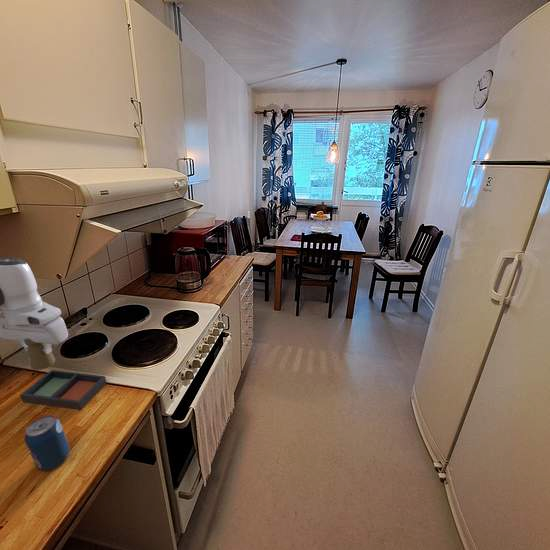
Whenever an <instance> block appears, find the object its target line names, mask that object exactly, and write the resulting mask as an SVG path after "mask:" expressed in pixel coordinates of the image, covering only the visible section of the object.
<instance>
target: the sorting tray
mask: <svg viewBox="0 0 550 550" xmlns="http://www.w3.org/2000/svg"><path fill="white" fill-rule="evenodd" d="M107 384H108V381H107V377H106V376H105V375H101V374H100V375H99V374H89V373H82V372H74V371H66V370H57V369H51V370H50V371H48V372H47V373H46V374H44V375H43V376H42V377H41V378H39V379H38V380H37V381H36V382H34V383H33V384H31V386H29V387H28V388H27V389H25V390H24V391H23V392H22V393H21V394H20V395H19V396H20V398H21V401H22V403H26V404H32V405H39V406H47V407H55V408H62V409H69V410H77V411H82V410H83V409H84V408H85V407H86V406H87V405H88V404H89V403H90V401H91V400H93V398H95V396H96V395H97V394H98V393H99V392H100V391H101V390H102V389H103V388H104V387H105V386H106V385H107Z"/></svg>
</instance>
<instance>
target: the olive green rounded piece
mask: <svg viewBox="0 0 550 550" xmlns="http://www.w3.org/2000/svg"><path fill="white" fill-rule="evenodd" d="M24 342H25V344H26V345H27V346H28V347H29V352H28V353H29V361H30V368H31V369H32V370H33V371H40V370H44V369H48V368H49V367H51V366H53V365H54V363H55V362H56V358H55V356H54V354H53V351H51V352H50V353H49V354H43V353H42V350H41V349H43V348H44V345H42V343H36V342H33V341H32V340H31V339H24Z"/></svg>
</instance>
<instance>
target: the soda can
mask: <svg viewBox="0 0 550 550" xmlns="http://www.w3.org/2000/svg"><path fill="white" fill-rule="evenodd" d="M24 432H25V434H24V438H23V439H24V442H25V444H26V446H27V449H28V451H29V454H30V456H31V458H32V461H33V463H34V465H35V467H36V469H38V470H39V471H44V472H48V471H52V470H55V469H58V468H59V467H60V466H62V465H63V464H64V463H65V462H66V460H67V458H68V456H69V455H70V451H71V448H70V447H71V446H70V445H69V442H68V439H67V436H66V434H65V430H64V428H63V425H62V423H61V421H60V419H58V418H56V417H55V416H54V415H52V414H51V415H50V414H49V415H48V414H47V415H44V416H40V417H38V418H36V419H35V420H33V421H31V423H29V425H28V426H27V427H26V429H25V431H24Z"/></svg>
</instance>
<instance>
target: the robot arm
mask: <svg viewBox="0 0 550 550" xmlns="http://www.w3.org/2000/svg"><path fill="white" fill-rule="evenodd" d="M0 308H1V309H0V339H2V340H8V341H9V340H10V341H16V342H17V341H18V343H19V344H20V346H21V347H23V348H24V351H25V352H26V353H29V347H28V346H27V345H26V344H25V342H24V339H31V340H32V341H33V342H36V343H42V345H44V348H43V349H41V350H42V353H43V354H49V353H50V352H53V349H52V345H57V346H58V345H61V344H62V343H64V342H65V341H66V340H67V339H68V338H69V332H68V328H67V325H66V323H65V320H64V319H63V318H62V317H61V315H62V310H61V309H60V308H59V307H56V306H53V305H51V304H49V303H47V302H45V301H43V298H42V296H41V295H40V294H39V292H38V283H37V280H36V278H35V275H34V273H33V271H32V269H31V267H30V265H29V264H28V263H27V262H26V261H25V260H24V259H22V258H16V257H0Z"/></svg>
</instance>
